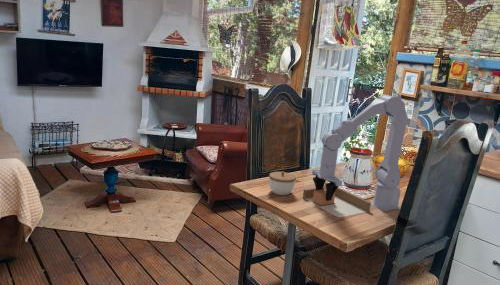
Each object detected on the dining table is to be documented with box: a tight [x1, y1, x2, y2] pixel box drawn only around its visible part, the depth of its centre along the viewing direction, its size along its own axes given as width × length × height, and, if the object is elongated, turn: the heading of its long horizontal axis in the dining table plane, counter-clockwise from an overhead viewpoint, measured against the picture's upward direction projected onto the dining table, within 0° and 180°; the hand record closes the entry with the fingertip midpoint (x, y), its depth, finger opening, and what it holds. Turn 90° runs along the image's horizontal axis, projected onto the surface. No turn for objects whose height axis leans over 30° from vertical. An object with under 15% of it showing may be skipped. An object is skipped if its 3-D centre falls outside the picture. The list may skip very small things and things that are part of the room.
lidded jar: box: [268, 171, 297, 196], centre depth 152 cm, size 11×11×9 cm
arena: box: [302, 185, 372, 219], centre depth 145 cm, size 16×20×4 cm
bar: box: [313, 189, 335, 206], centre depth 145 cm, size 7×4×4 cm, turn 122°
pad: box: [310, 201, 336, 208], centre depth 146 cm, size 8×6×1 cm
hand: (323, 197), depth 145 cm, fingers open, 5 cm apart
